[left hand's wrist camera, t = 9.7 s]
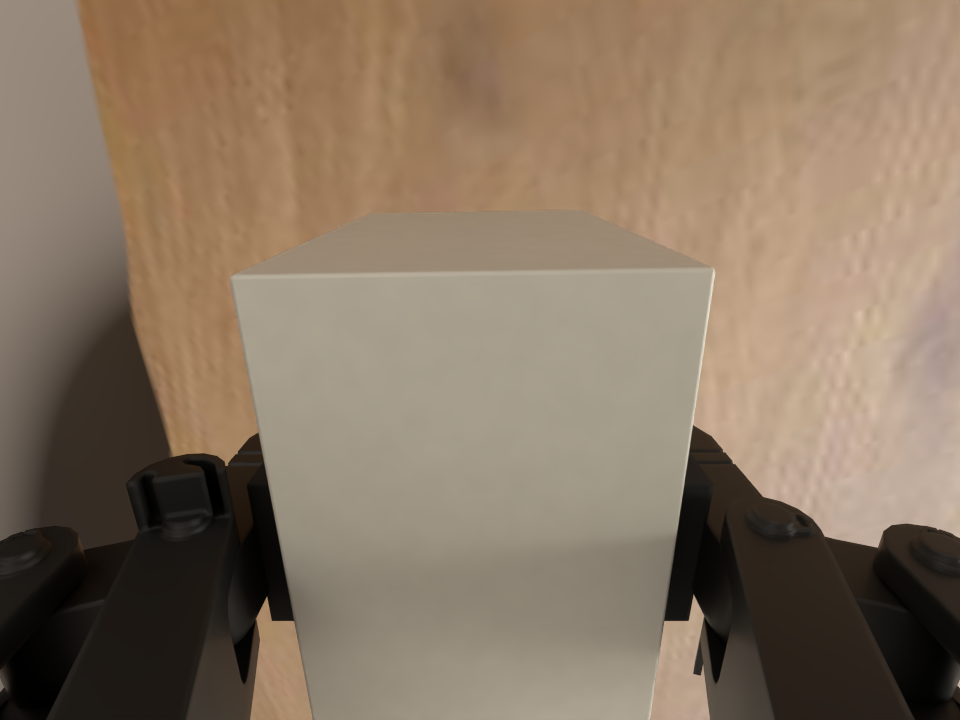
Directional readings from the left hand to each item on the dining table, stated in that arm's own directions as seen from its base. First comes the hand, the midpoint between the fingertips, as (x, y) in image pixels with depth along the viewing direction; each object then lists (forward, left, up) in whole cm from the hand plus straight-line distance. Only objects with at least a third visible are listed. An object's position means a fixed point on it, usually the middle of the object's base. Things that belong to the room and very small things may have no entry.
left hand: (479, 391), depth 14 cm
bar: (+29, +6, -1) cm, 30 cm away
